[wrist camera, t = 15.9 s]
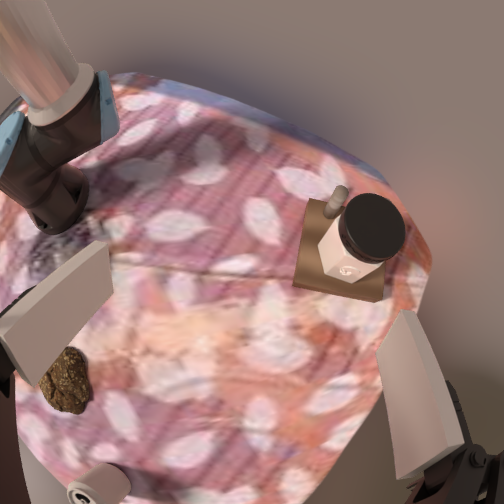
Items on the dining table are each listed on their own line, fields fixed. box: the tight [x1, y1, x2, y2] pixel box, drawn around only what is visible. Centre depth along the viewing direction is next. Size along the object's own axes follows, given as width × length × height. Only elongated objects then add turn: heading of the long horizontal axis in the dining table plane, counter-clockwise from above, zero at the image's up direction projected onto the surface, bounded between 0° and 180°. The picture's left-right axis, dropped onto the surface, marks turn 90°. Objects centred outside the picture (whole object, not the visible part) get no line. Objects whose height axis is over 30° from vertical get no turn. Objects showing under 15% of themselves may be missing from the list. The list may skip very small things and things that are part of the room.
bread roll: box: [38, 347, 89, 415], centre depth 33 cm, size 13×12×5 cm
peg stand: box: [292, 185, 392, 303], centre depth 38 cm, size 14×14×10 cm
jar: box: [318, 193, 405, 283], centre depth 34 cm, size 9×8×12 cm
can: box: [67, 463, 131, 504], centre depth 24 cm, size 8×8×12 cm
